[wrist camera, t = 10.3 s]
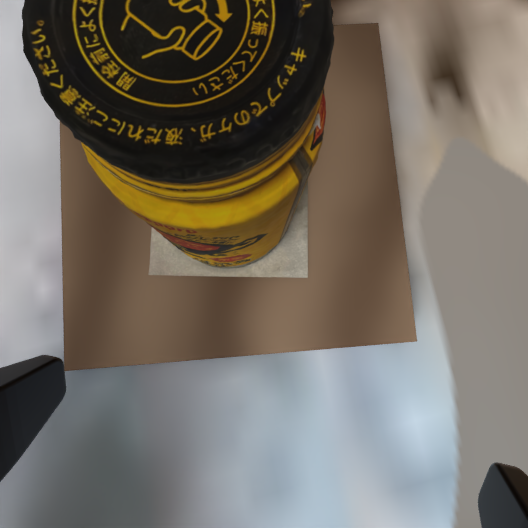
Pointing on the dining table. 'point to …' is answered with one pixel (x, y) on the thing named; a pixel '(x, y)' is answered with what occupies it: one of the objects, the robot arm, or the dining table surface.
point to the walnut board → (251, 288)
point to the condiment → (195, 119)
